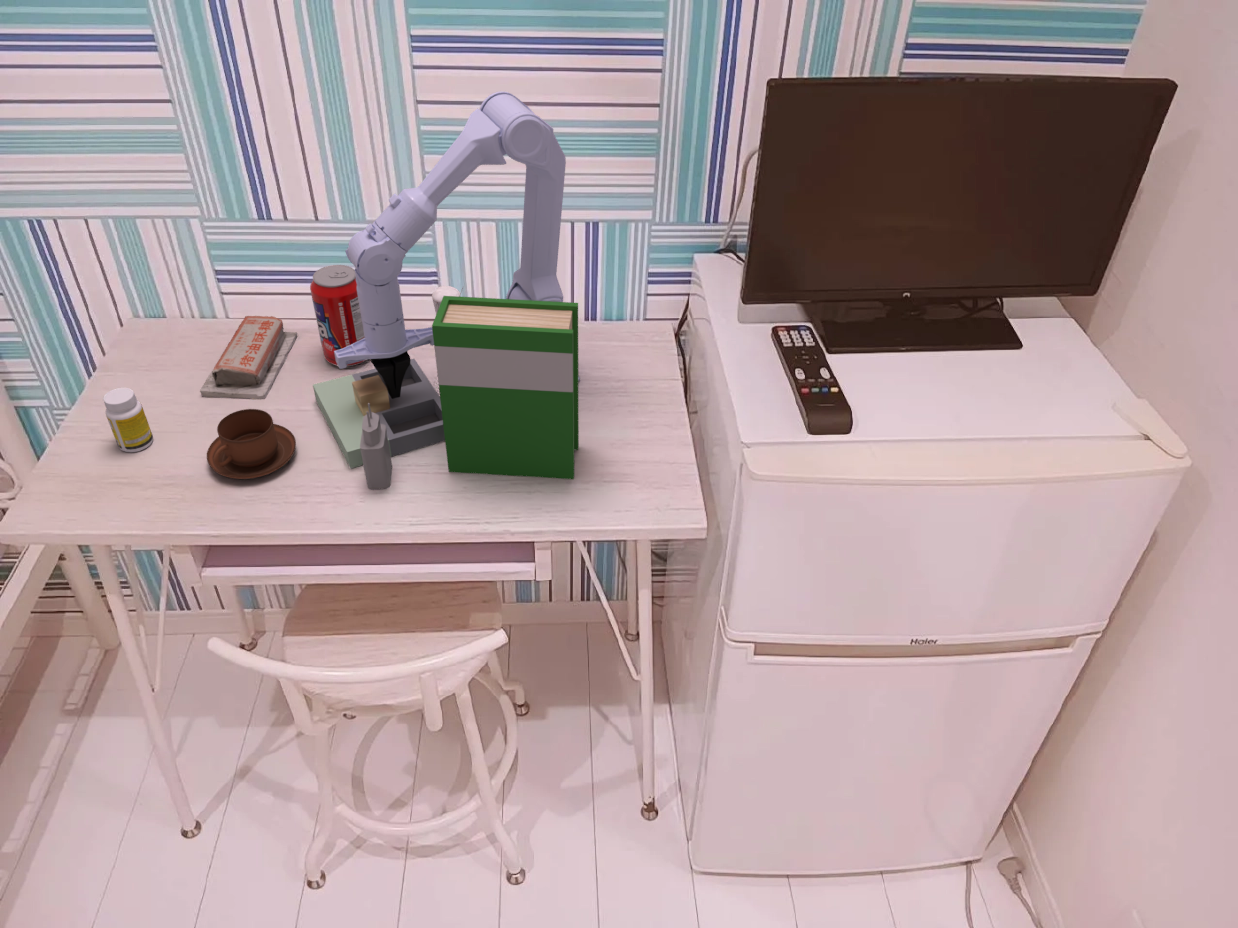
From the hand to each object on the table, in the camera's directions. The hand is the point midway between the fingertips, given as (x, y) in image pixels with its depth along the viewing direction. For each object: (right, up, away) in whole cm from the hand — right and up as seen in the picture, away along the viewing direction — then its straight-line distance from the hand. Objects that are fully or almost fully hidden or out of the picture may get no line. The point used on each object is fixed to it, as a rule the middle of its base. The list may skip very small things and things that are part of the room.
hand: (394, 394), depth 146 cm
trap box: (-2, -3, +2) cm, 4 cm away
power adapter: (0, -12, -8) cm, 15 cm away
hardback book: (+18, -10, -5) cm, 21 cm away
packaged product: (-25, +5, +12) cm, 29 cm away
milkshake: (+5, +11, +19) cm, 23 cm away
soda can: (-10, +7, +14) cm, 19 cm away
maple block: (-3, -2, -1) cm, 3 cm away
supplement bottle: (-36, -7, -4) cm, 37 cm away
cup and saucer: (-19, -10, -6) cm, 22 cm away
